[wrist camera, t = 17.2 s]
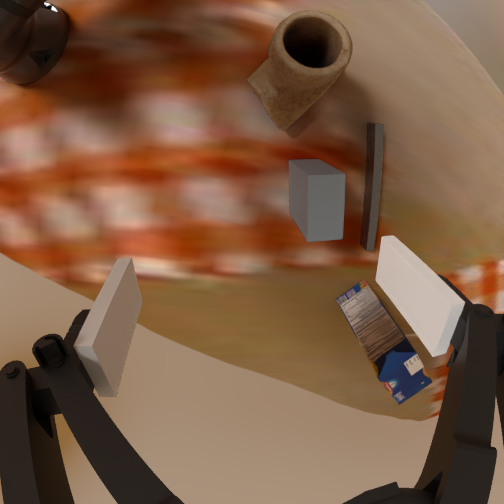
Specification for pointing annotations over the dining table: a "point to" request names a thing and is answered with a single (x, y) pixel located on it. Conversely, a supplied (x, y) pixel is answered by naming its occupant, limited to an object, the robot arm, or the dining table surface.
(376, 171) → the rail
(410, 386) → the blue food box
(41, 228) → the dining table surface
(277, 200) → the dining table surface
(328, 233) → the slate carton
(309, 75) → the brown piece
